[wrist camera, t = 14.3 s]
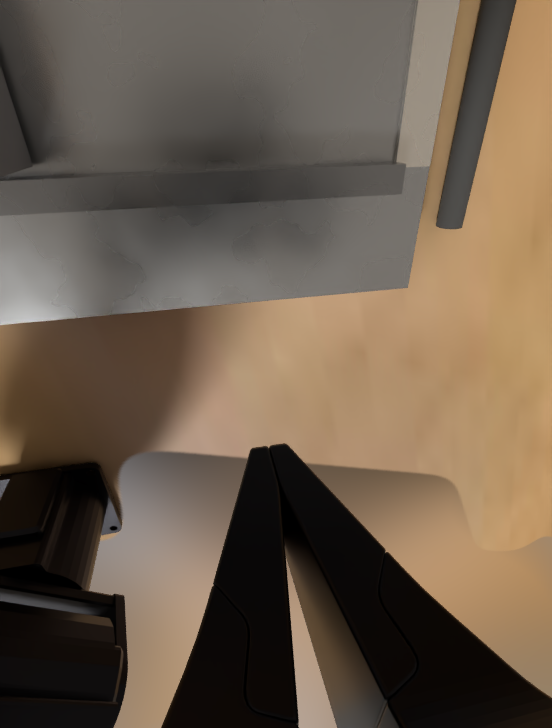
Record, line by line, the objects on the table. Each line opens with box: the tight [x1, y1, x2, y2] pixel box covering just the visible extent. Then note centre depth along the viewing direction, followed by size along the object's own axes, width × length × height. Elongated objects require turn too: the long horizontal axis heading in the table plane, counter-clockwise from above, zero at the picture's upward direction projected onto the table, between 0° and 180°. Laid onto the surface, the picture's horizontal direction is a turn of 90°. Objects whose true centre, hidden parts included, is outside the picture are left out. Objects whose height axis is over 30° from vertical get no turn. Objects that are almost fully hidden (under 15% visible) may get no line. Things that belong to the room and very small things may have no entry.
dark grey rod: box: [436, 0, 516, 229], centre depth 16 cm, size 12×1×1 cm, turn 1°
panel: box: [0, 0, 460, 325], centre depth 13 cm, size 16×20×4 cm
